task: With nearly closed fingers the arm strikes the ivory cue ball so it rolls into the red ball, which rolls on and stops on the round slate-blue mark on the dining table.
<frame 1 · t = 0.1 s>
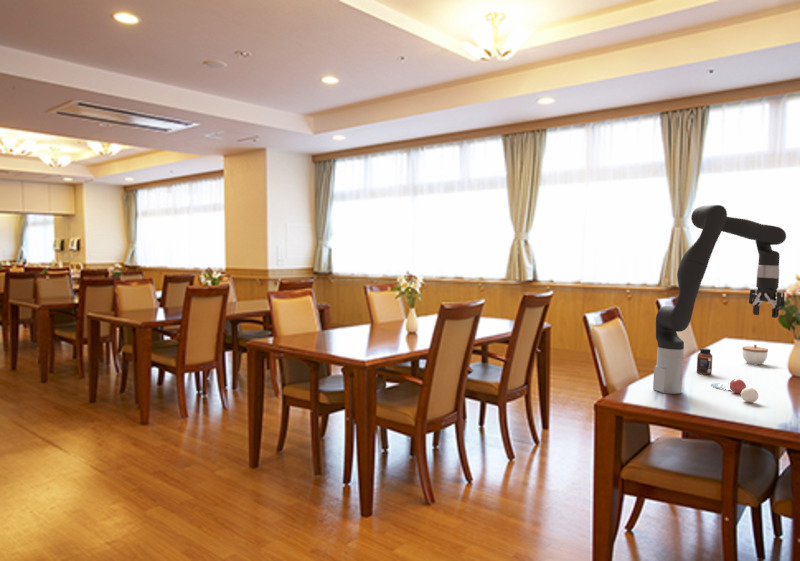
hand: (765, 316, 227), 29 cm above the table, tool pointing down, fingers open, 8 cm apart
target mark: (730, 387, 226), on the table
red ball: (737, 386, 217), on the table
supplement bottle: (703, 374, 252), on the table
cue ball: (749, 395, 204), on the table
lidded jar: (754, 364, 278), on the table
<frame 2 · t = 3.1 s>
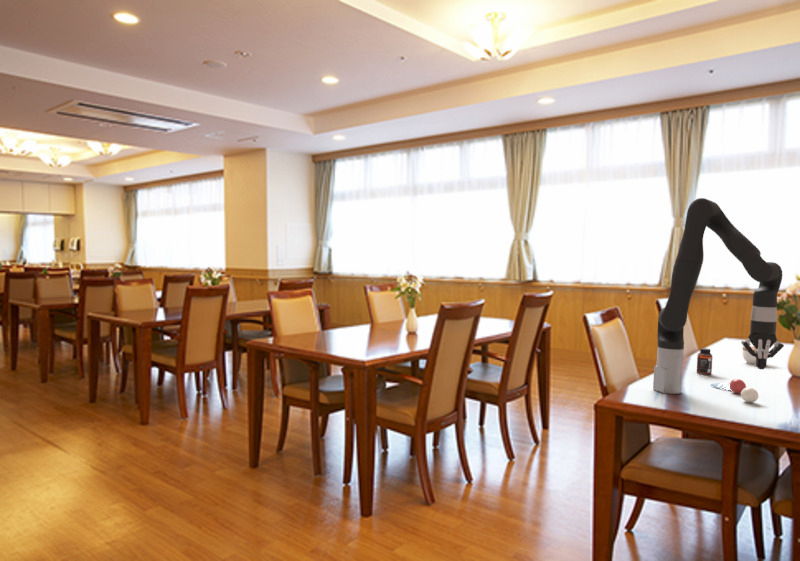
hand: (760, 368, 194), 14 cm above the table, tool pointing down, fingers closed
nothing on the table moved.
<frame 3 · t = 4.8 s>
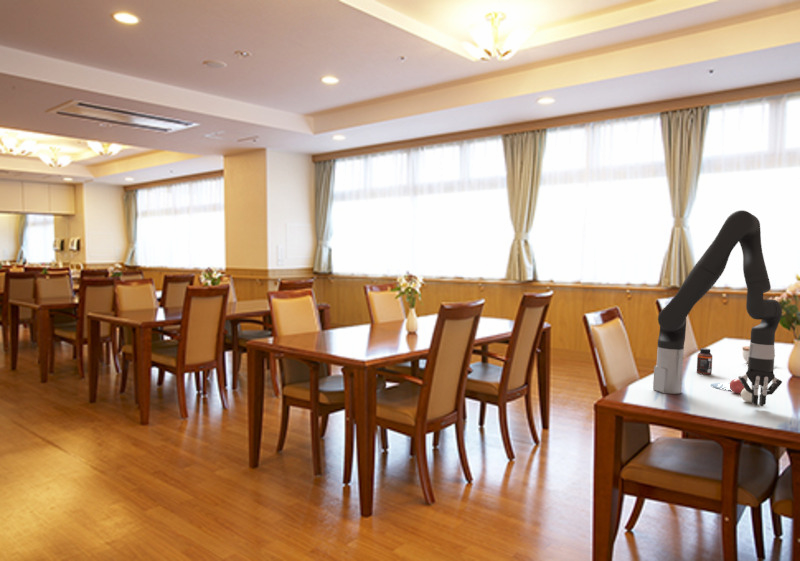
hand: (758, 405, 195), 2 cm above the table, tool pointing down, fingers closed
nothing on the table moved.
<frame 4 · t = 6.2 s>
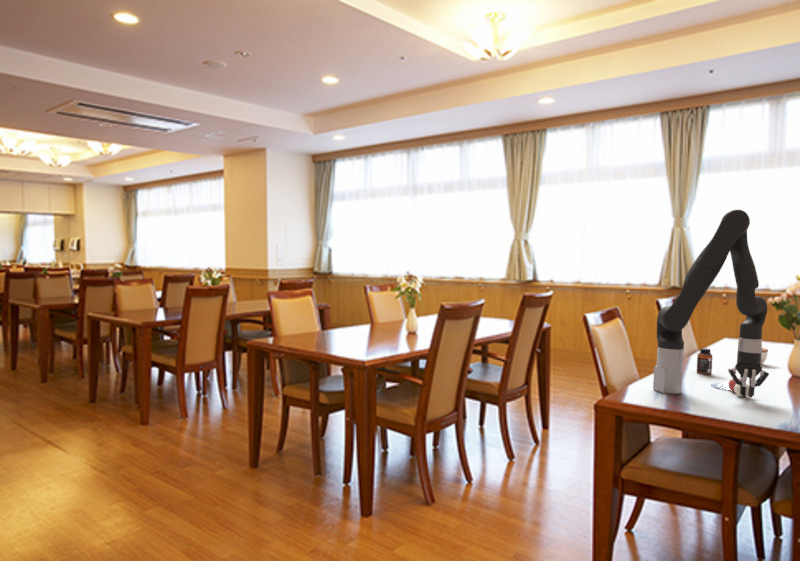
hand: (746, 396, 207), 2 cm above the table, tool pointing down, fingers closed
red ball: (736, 385, 218), on the table
cue ball: (742, 389, 212), on the table
everything else where it was.
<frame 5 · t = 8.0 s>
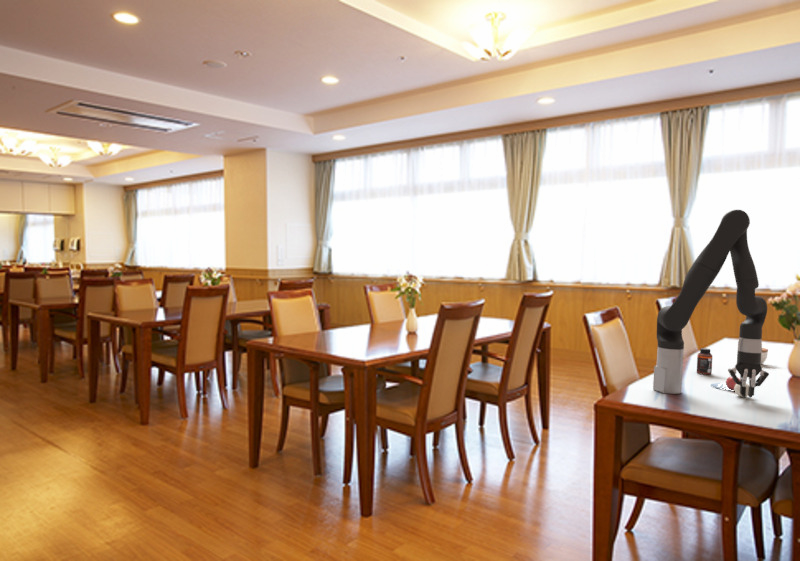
hand: (746, 396, 207), 2 cm above the table, tool pointing down, fingers closed
red ball: (733, 383, 222), on the table
everything else where it was.
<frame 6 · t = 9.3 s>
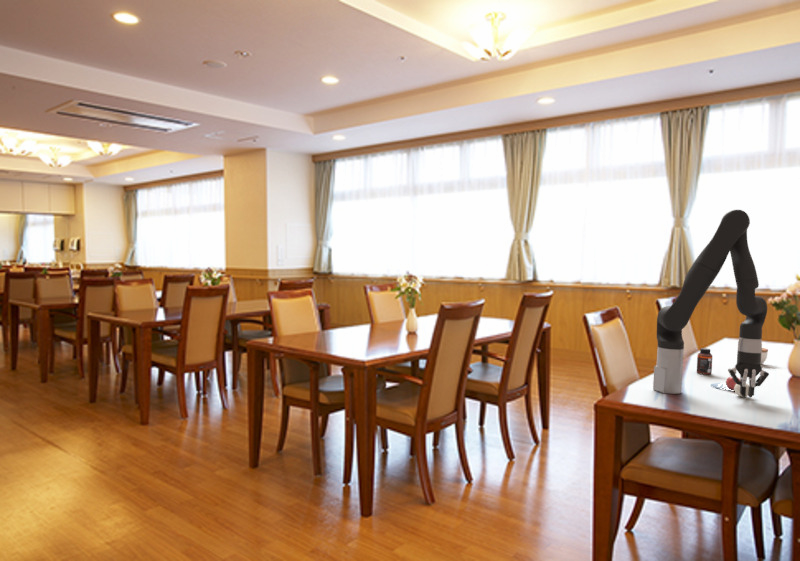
hand: (746, 396, 207), 2 cm above the table, tool pointing down, fingers closed
nothing on the table moved.
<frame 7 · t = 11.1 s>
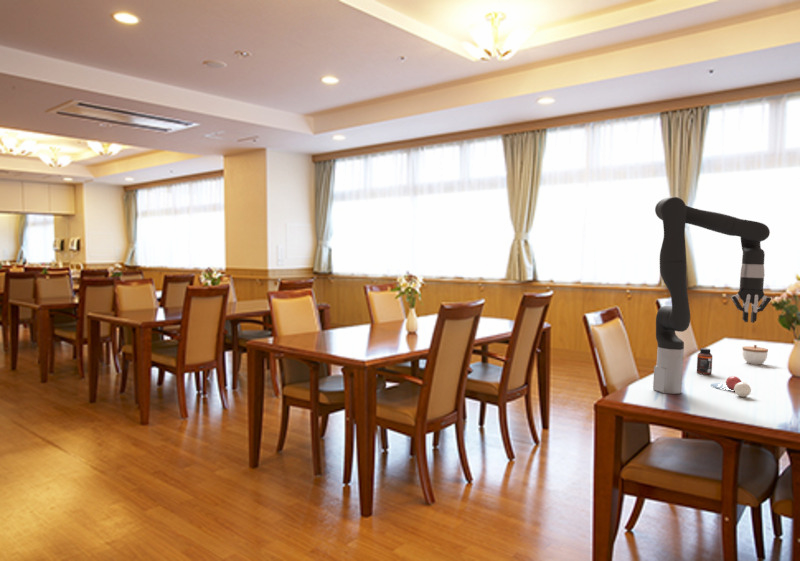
hand: (749, 322, 210), 29 cm above the table, tool pointing down, fingers closed
nothing on the table moved.
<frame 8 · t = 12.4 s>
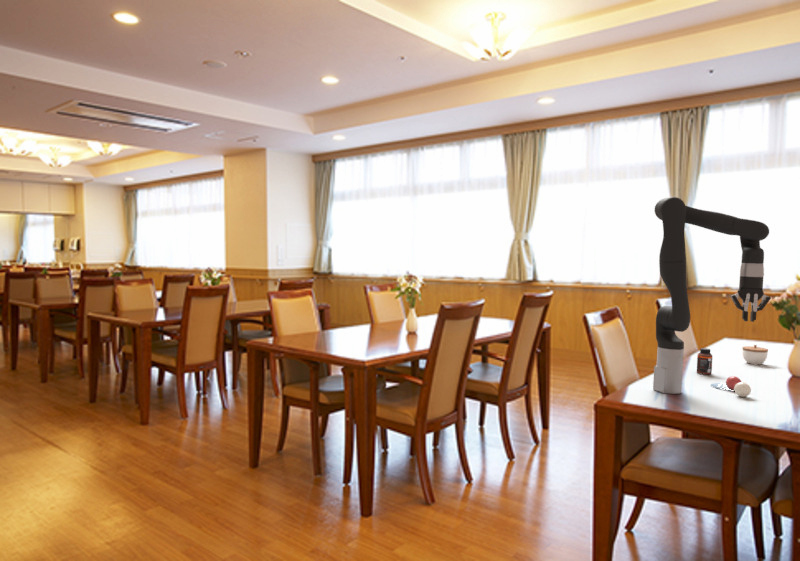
hand: (748, 321, 210), 29 cm above the table, tool pointing down, fingers closed
nothing on the table moved.
at the end: red ball 4.2 cm from the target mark (horizontally); red ball never touched the robot; cue ball first touched red ball at 6.0 s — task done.
